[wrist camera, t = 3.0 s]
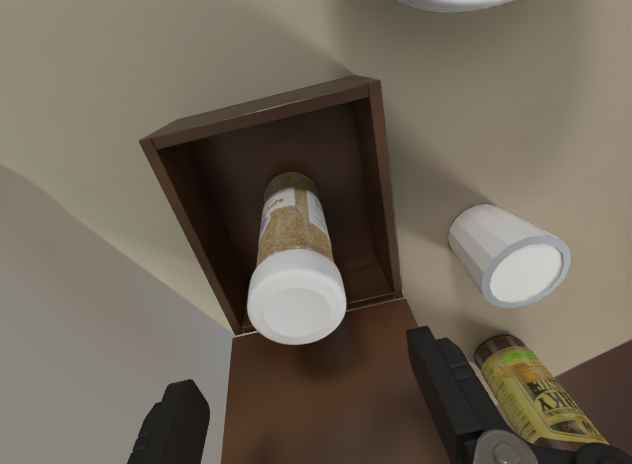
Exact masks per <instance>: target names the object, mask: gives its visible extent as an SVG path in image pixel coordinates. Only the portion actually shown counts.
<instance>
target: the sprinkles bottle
mask: <svg viewBox="0 0 632 464" xmlns="http://www.w3.org/2000/svg"><path fill="white" fill-rule="evenodd" d="M264 203H265V204H264V208H263V212H262V221H261V228H260V236H259V245H258V247H259V250H258V256H257V266H256V269H255V271H254V273H253V275H252V278H251V281H250V287H249V293H248V301H247V312H248V316H249V319H250V321H251V323H252V325H253V326H254V327H255V329H256V330H257V331H258V332H259V333H260V334H262V335H263V336H265V337H266V338H268V339H270V340H272V341H275V342H278V343H282V344H289V345H301V344H307V343H311V342H315V341H318V340H320V339H322V338H324V337H326V336H327V335H329V334H330V333H331V332H333V331H334V330H335V329H336V328H337V327H338V325H339V324H340V323H341V321H342V319H343V317H344V315H345V311H346V296H345V290H344V286H343V282H342V278H341V274H340V272H339V270H338V268H337V267H336V265H335V263H334V260H333V255H332V251H331V243H330V239H329V235H328V231H327V226H326V222H325V218H324V214H323V210H322V206H321V204H320V202H319V192H318V189H317V187H316V185H315V183H314V182H313V181H312V180H311V179H310V178H308V177H307V176H305V175H303V174H301V173H298V172H287V173H283V174H280V175H278V176H276V177H275V178H274V179H272V180H271V181H270V183H269V184H268V186H267V187H266V189H265V193H264Z"/></svg>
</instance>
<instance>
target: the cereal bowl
mask: <svg viewBox="0 0 632 464" xmlns="http://www.w3.org/2000/svg"><path fill="white" fill-rule="evenodd" d="M395 1H398V2H400V3H402V4H406V5H408V6H409V7H411V8H417V9H422V10H427V11H429V12H431V11H434V12H440V13H441V12H444V13H447V12H454V13H458V12H464V11H468V12H471V11H475V10H478V9H486V8H489V7H492V6H498V5H501V4H504V3H507V2H510V1H513V0H395Z"/></svg>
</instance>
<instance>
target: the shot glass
mask: <svg viewBox="0 0 632 464" xmlns="http://www.w3.org/2000/svg"><path fill="white" fill-rule="evenodd" d="M448 242H449V244H450V247H451V249H452V251H453V252H454V254H455V255H456V257H457V258H458V260H459V261H460V263H461V264H462V266H463V267H464V269H465V270H466V272H467V273H468V275H469V276H470V278H471V279H472V281H473V282H474V284H475V285H476V287H477V288H478V290H479V291H480V293H481V294H482V296H483V297H484V299H486V300H487V301H488V302H489V303H491V304H492V305H493V306H496V307H501V308H506V309H511V308H519V307H525V306H527V305H530V304H532V303H534V302H537V301H539V300H541V299H542V298H544V297H545V296H547V295H548V294H549V293H551V292H552V291H553V290H555V289H556V288H557V286H558V285H559V284H560V283H561V281H562V280H563V279H564V278H565V277H566V275H567V272H568V269H569V266H570V264H571V255H570V248H569V247H568V246H567V245H566V244H565V243H564V242H563V241H562V240H561V239H560V238H558V237H556V236H554V235H552V234H550V233H548V232H546V231H544V230H542V229H540V228H538V227H536V226H535V225H533V224H531V223H529V222H527V221H525V220H523V219H521V218H519V217H517V216H515V215H513V214H511V213H509V212H507V211H505V210H503V209H501V208H499V207H497V206H493V205H490V204H483V205H476V206H473V207H471V208H469V209H467V210H465V211H464V212H463V213H461V214H460V215H459V216H458V217H457V218H456V219H455V220H454V222H453V224H452V226H451V227H450V229H449V235H448Z"/></svg>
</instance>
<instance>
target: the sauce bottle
mask: <svg viewBox="0 0 632 464" xmlns="http://www.w3.org/2000/svg"><path fill="white" fill-rule="evenodd" d="M475 363H476V365H477V366H478V368H479V369H480V370H481V373H482V376H483V378H484V379H485V381H486V383H487V384H488V386H489V388H490V389H491V391H492V393H493V394H494V396H495V398H496V399H497V401H498V403H499V404H500V406H501V408H502V409H503V411H504V413H505V414H506V416H507V418H508V420H509V421H510V423H511V425H512V426H513V428H514V429H515V431H516V433H517V435H519V436H520V437H521V438H523V439H525V440H526V441H528V442H530V443H533V444H535V445H538V446H542V447H547V448H554V449H562V450H569V451H576V452H577V451H578V449H579V448H580V447H581V446H582V445H584V444H586V443H590V442H599V443H604V444H608V443H607V442H606V440H605V439H604V438H603V437H602V435H601V434H600V433H599V432H598V431H597V429H596V428H595V427H594V426H593V424H592V423H591V422H590V421H589V419H588V418H587V417H586V416H585V415H584V413H583V412H582V411H581V410H580V408H579V407H578V406H577V405H576V404H575V402H574V401H573V400H572V399H571V397H570V396H569V395H568V394H567V393H566V392H565V390H564V389H563V388H562V387H561V385H560V384H559V383H558V382H557V381H556V380H555V378H554V377H553V376H552V375H551V373H550V372H549V371H548V370H547V368H546V367H545V366H544V365H543V364H542V362H541V361H540V360H539V359H538V357H537V356H536V355H535V354H534V353H533V351H532V350H530V349H528V348H527V347H526V345H525V344H524V343H523V342H522V341H521V340H519V339H518V338H516V337H513V336H499V337H495V338H492V339H491V340H489V341H487V342H485V343H484V344H482V345H481V346H480V347H479V348H478V349H477V351H476V355H475ZM608 445H609V444H608Z"/></svg>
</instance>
